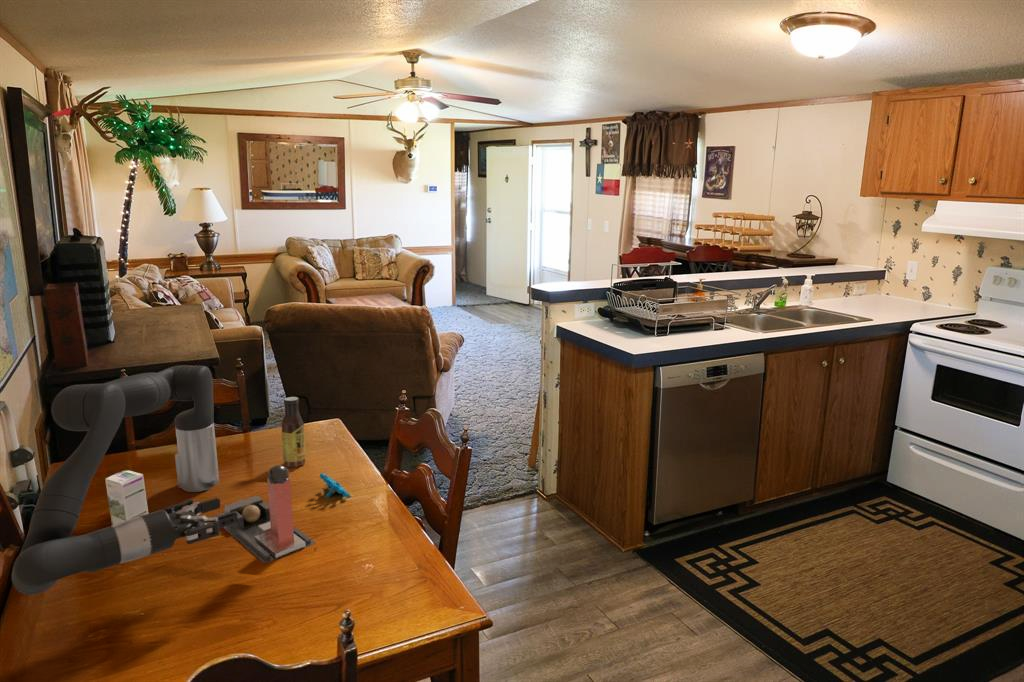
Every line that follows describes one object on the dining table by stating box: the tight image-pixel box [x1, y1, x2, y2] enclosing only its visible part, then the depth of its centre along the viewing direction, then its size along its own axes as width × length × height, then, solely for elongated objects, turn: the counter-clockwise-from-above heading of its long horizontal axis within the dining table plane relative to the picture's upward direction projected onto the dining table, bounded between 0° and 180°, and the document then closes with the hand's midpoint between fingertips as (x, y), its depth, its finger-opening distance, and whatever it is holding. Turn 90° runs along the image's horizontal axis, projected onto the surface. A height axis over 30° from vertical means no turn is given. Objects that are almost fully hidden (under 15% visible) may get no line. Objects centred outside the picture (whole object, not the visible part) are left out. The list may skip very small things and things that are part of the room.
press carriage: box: [255, 464, 306, 558], centre depth 148 cm, size 10×7×19 cm
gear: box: [319, 472, 352, 499], centre depth 174 cm, size 11×6×10 cm
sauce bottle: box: [281, 396, 306, 468], centre depth 193 cm, size 7×6×20 cm
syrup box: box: [105, 469, 149, 526], centre depth 155 cm, size 6×6×14 cm
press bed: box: [211, 495, 317, 564], centre depth 156 cm, size 28×12×5 cm, turn 45°
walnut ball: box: [242, 505, 260, 522], centre depth 159 cm, size 4×4×4 cm
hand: (227, 509), depth 138 cm, fingers open, 8 cm apart
